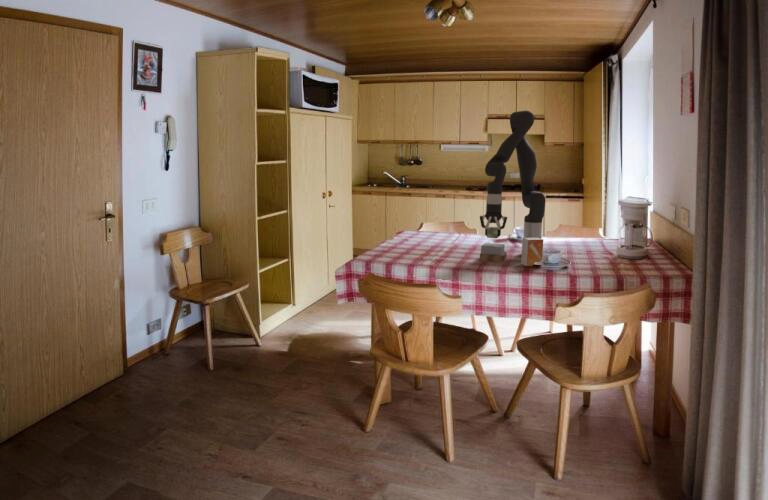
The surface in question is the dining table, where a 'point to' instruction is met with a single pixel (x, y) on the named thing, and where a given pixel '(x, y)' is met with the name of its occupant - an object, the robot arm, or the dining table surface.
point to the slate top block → (492, 249)
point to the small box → (531, 251)
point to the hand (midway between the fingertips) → (492, 236)
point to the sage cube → (492, 232)
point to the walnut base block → (493, 257)
